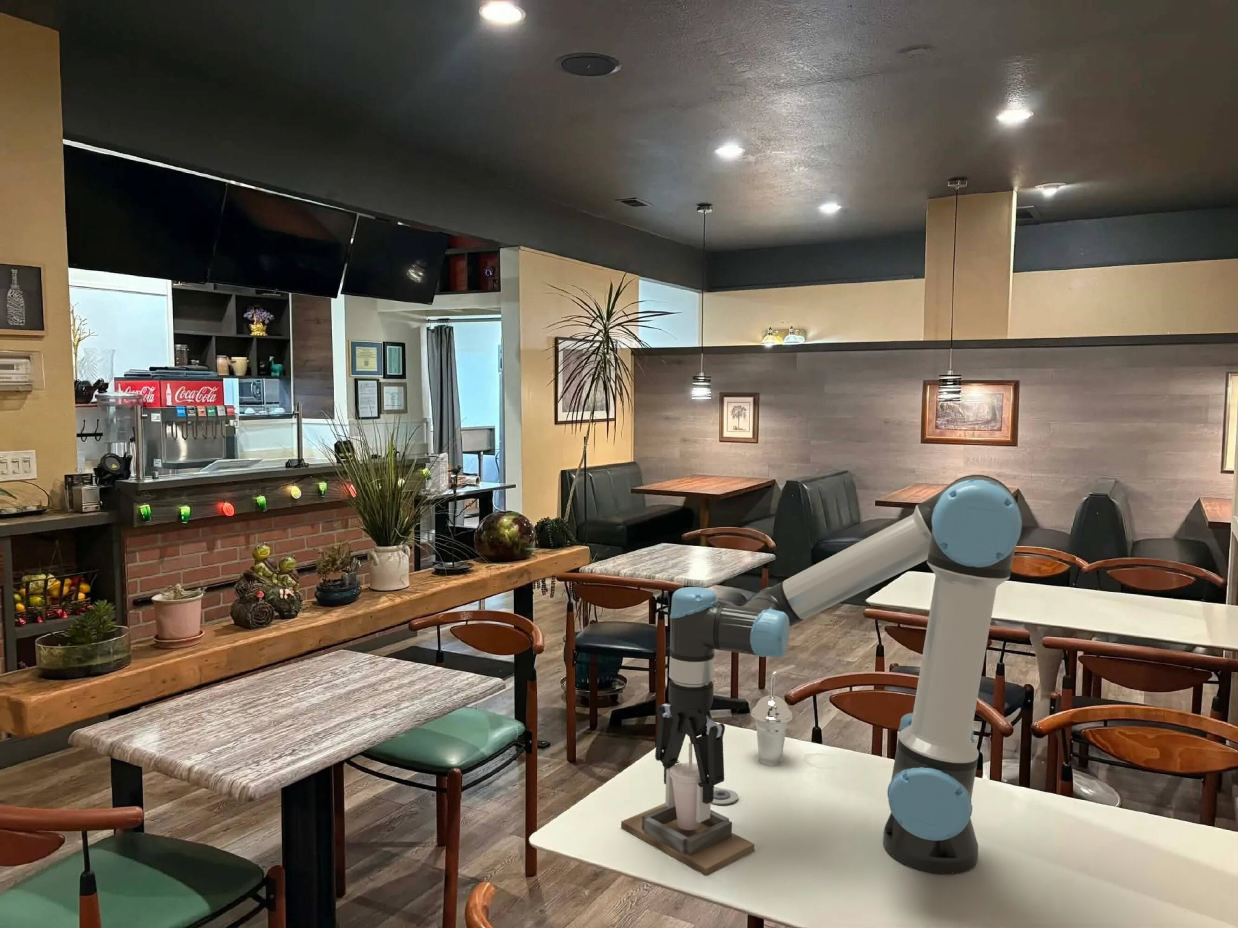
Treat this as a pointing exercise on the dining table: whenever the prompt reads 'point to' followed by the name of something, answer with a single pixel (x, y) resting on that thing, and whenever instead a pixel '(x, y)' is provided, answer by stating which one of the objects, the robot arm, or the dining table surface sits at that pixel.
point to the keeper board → (690, 838)
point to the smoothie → (686, 792)
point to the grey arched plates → (724, 796)
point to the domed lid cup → (771, 724)
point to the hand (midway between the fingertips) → (687, 811)
